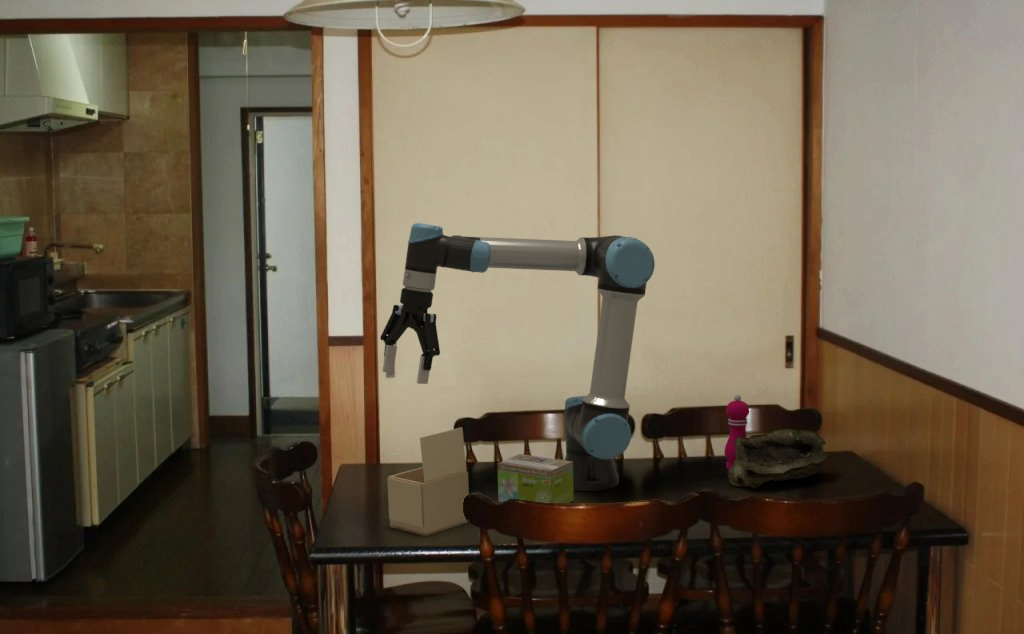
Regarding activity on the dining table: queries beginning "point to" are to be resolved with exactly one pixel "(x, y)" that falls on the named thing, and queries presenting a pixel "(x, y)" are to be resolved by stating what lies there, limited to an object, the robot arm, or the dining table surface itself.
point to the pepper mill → (735, 427)
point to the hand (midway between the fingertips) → (404, 377)
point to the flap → (443, 454)
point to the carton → (426, 502)
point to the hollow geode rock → (776, 457)
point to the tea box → (535, 479)
